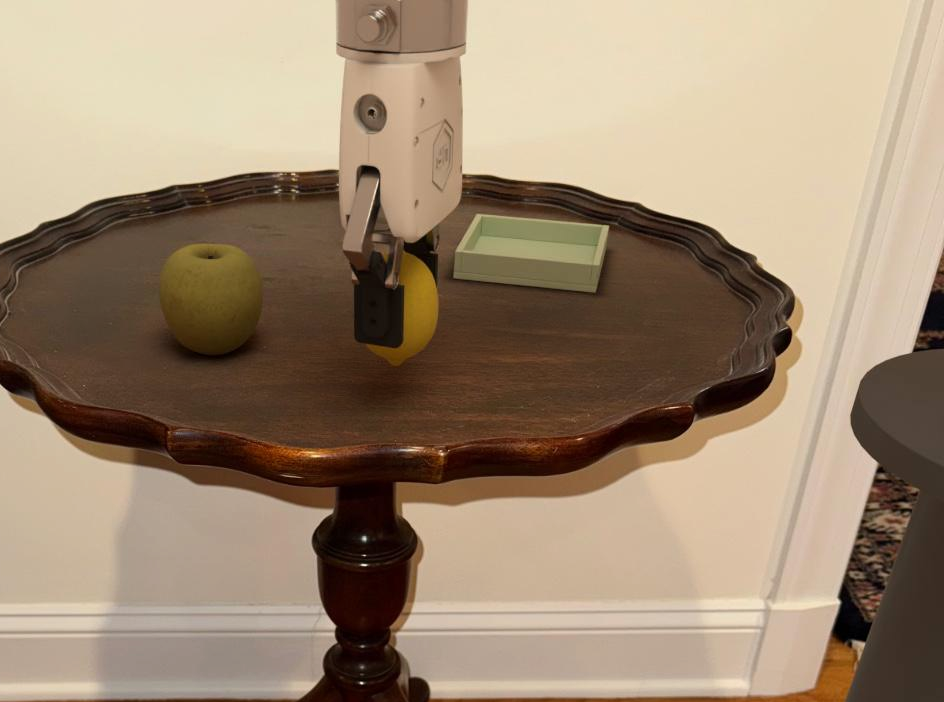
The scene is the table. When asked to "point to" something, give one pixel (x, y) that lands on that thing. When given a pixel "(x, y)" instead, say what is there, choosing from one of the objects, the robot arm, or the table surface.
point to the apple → (211, 297)
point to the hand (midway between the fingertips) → (396, 323)
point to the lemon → (413, 310)
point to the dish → (532, 252)
